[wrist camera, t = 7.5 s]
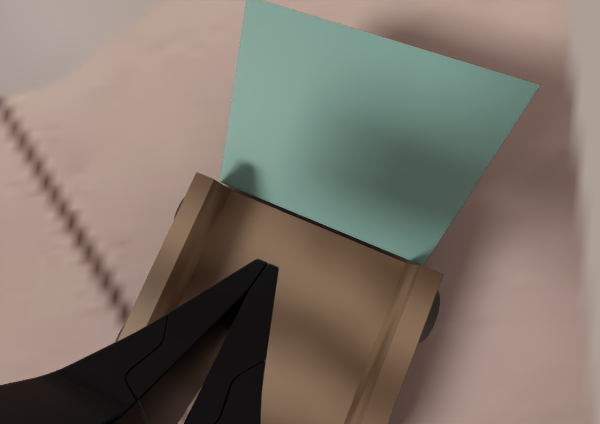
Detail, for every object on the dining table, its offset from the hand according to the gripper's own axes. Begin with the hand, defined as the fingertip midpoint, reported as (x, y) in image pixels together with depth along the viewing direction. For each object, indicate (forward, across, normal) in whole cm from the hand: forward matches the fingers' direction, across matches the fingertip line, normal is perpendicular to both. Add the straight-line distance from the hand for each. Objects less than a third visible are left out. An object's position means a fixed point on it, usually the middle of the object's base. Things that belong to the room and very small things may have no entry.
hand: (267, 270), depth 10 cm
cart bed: (+5, 0, +11) cm, 12 cm away
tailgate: (+10, 0, +4) cm, 11 cm away
